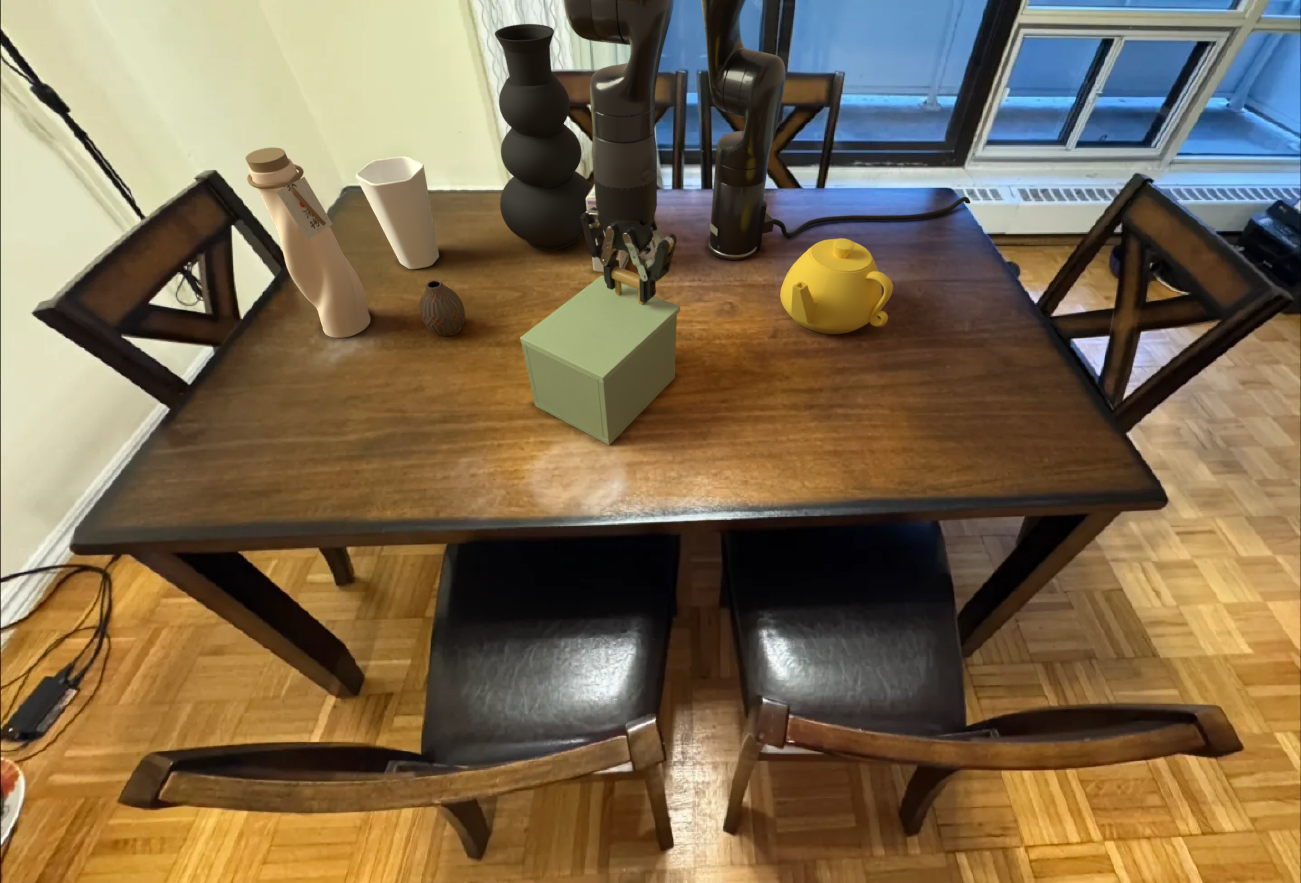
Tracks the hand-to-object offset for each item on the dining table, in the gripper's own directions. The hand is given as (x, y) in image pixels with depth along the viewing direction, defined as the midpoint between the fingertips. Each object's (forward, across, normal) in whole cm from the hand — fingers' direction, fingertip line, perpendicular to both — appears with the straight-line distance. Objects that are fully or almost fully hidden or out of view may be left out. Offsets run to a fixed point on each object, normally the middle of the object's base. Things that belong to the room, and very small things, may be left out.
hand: (629, 292), depth 82 cm
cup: (+14, +52, -2) cm, 54 cm away
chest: (+14, 0, +7) cm, 15 cm away
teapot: (+14, -20, -29) cm, 38 cm away
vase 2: (+14, +36, -23) cm, 45 cm away
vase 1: (+14, +31, +10) cm, 36 cm away
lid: (+2, 0, +6) cm, 7 cm away
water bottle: (+14, +46, +18) cm, 51 cm away
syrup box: (+14, +20, -21) cm, 32 cm away
